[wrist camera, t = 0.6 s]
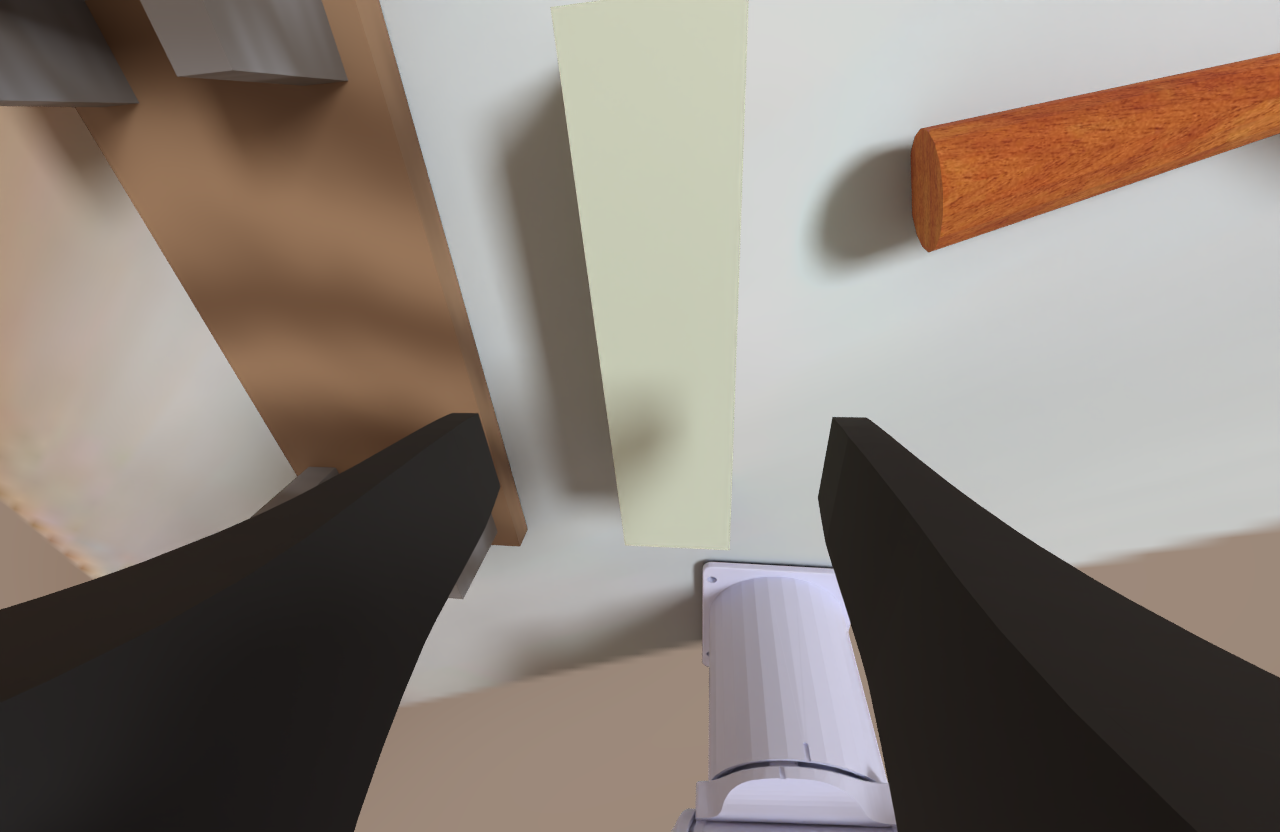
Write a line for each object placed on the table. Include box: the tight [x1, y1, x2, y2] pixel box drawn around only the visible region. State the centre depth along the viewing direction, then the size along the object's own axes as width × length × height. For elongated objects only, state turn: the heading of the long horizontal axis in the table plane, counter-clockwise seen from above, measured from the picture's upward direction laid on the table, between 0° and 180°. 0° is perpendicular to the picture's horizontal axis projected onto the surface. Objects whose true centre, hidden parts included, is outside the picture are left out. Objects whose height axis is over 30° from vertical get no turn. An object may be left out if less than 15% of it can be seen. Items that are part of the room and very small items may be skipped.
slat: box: [551, 0, 748, 550], centre depth 16 cm, size 16×4×5 cm, turn 4°
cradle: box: [0, 0, 528, 599], centre depth 17 cm, size 25×11×5 cm, turn 4°
